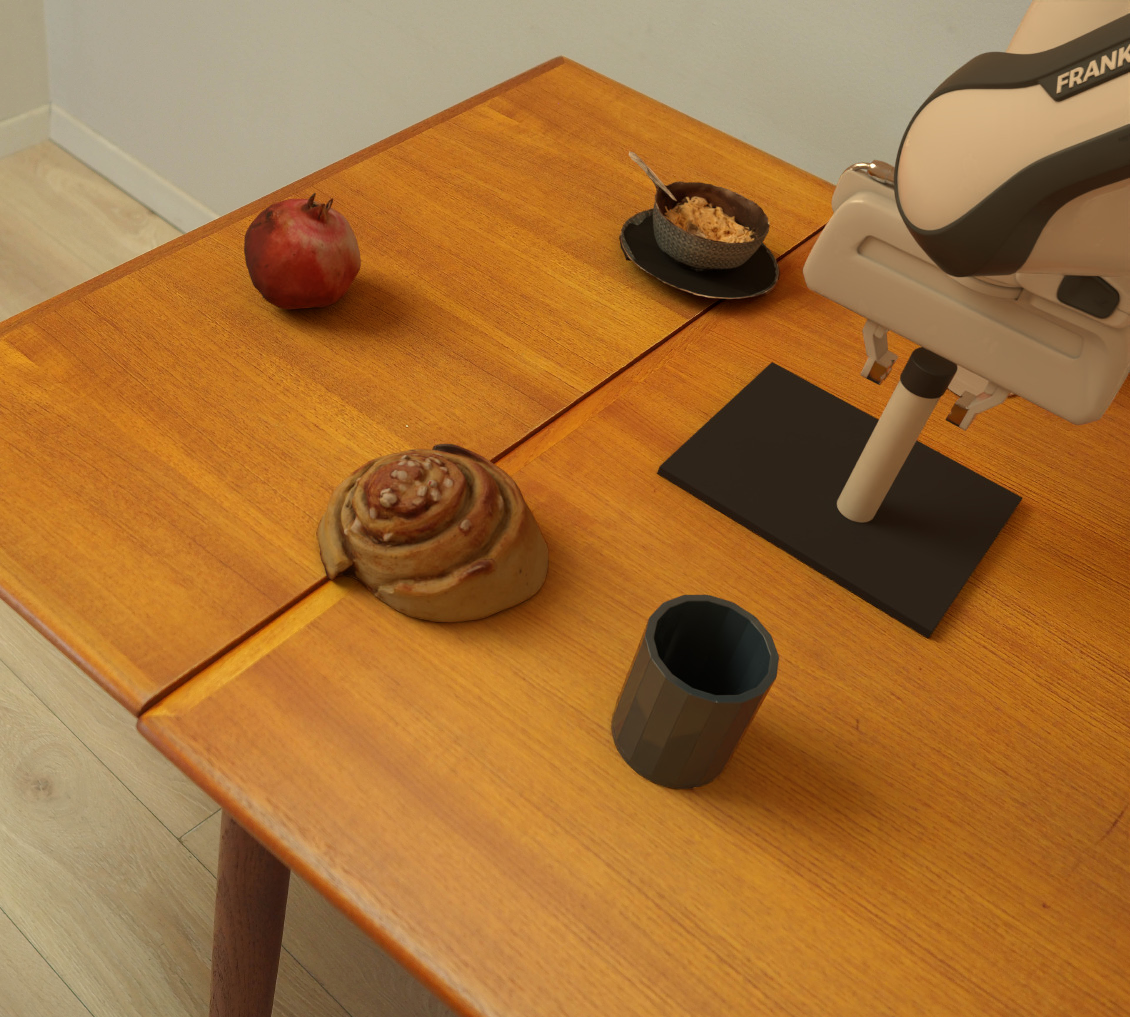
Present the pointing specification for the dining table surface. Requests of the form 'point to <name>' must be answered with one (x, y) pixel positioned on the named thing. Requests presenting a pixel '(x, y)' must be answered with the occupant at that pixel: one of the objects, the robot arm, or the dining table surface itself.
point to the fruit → (301, 254)
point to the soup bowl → (702, 240)
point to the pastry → (434, 534)
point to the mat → (814, 484)
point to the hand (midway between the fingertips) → (915, 399)
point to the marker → (895, 433)
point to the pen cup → (693, 690)
